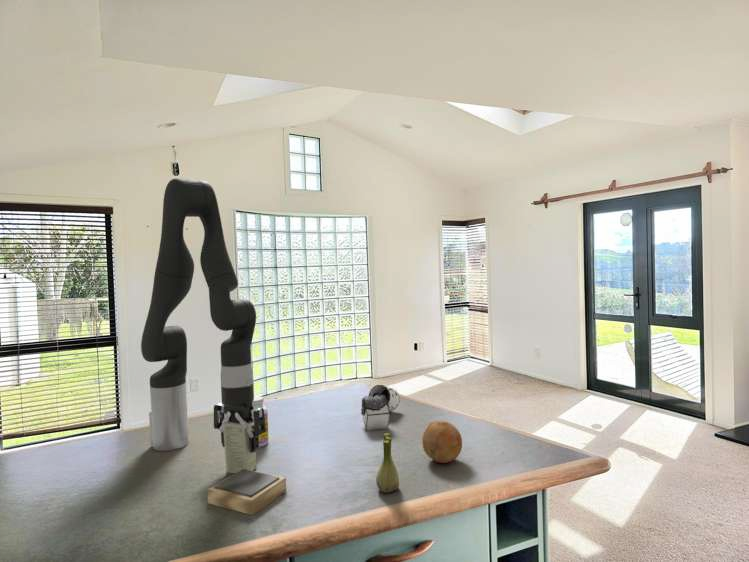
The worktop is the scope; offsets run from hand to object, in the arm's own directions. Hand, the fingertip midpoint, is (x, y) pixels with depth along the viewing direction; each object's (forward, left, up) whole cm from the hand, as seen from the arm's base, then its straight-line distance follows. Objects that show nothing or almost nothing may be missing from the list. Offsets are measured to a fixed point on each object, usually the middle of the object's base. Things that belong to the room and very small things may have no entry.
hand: (240, 448), depth 119 cm
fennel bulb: (+37, +5, -6) cm, 38 cm away
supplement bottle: (-8, +15, -6) cm, 18 cm away
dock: (+11, -10, -5) cm, 16 cm away
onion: (+43, +24, -6) cm, 49 cm away
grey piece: (+15, +47, -6) cm, 50 cm away
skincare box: (0, 0, -6) cm, 6 cm away
